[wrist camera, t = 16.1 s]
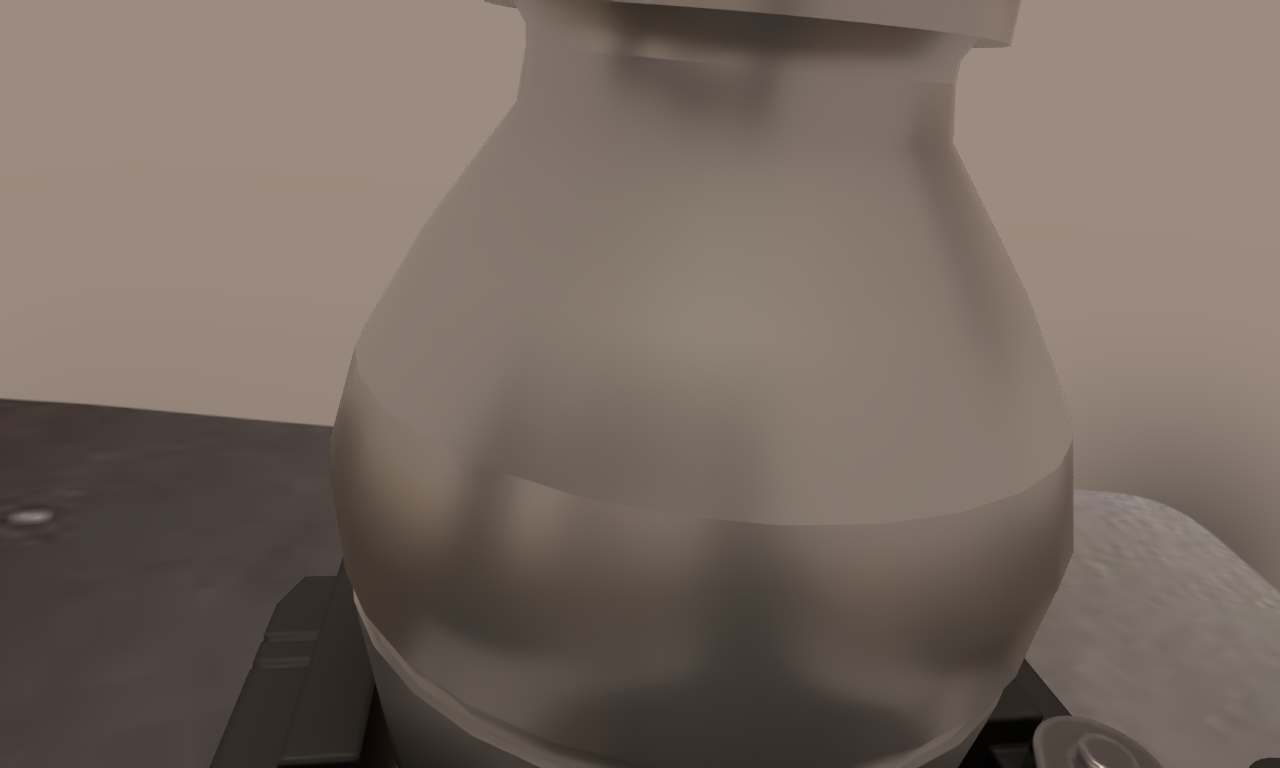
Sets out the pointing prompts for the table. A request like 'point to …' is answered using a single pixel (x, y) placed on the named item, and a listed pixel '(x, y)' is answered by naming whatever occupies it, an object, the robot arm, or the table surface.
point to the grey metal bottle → (708, 407)
